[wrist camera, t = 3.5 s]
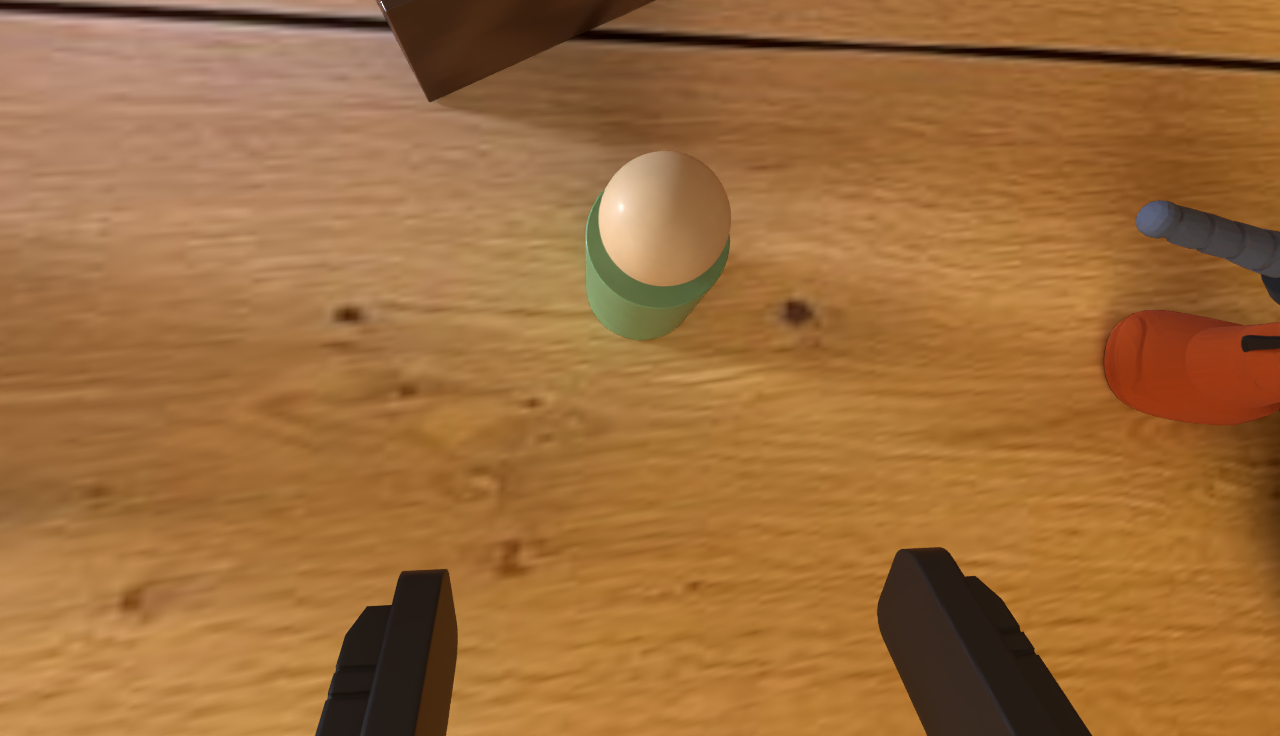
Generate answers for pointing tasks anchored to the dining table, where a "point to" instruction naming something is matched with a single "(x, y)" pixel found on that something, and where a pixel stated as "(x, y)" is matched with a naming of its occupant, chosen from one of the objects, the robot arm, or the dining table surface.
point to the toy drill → (1200, 333)
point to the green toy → (655, 243)
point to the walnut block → (486, 34)
